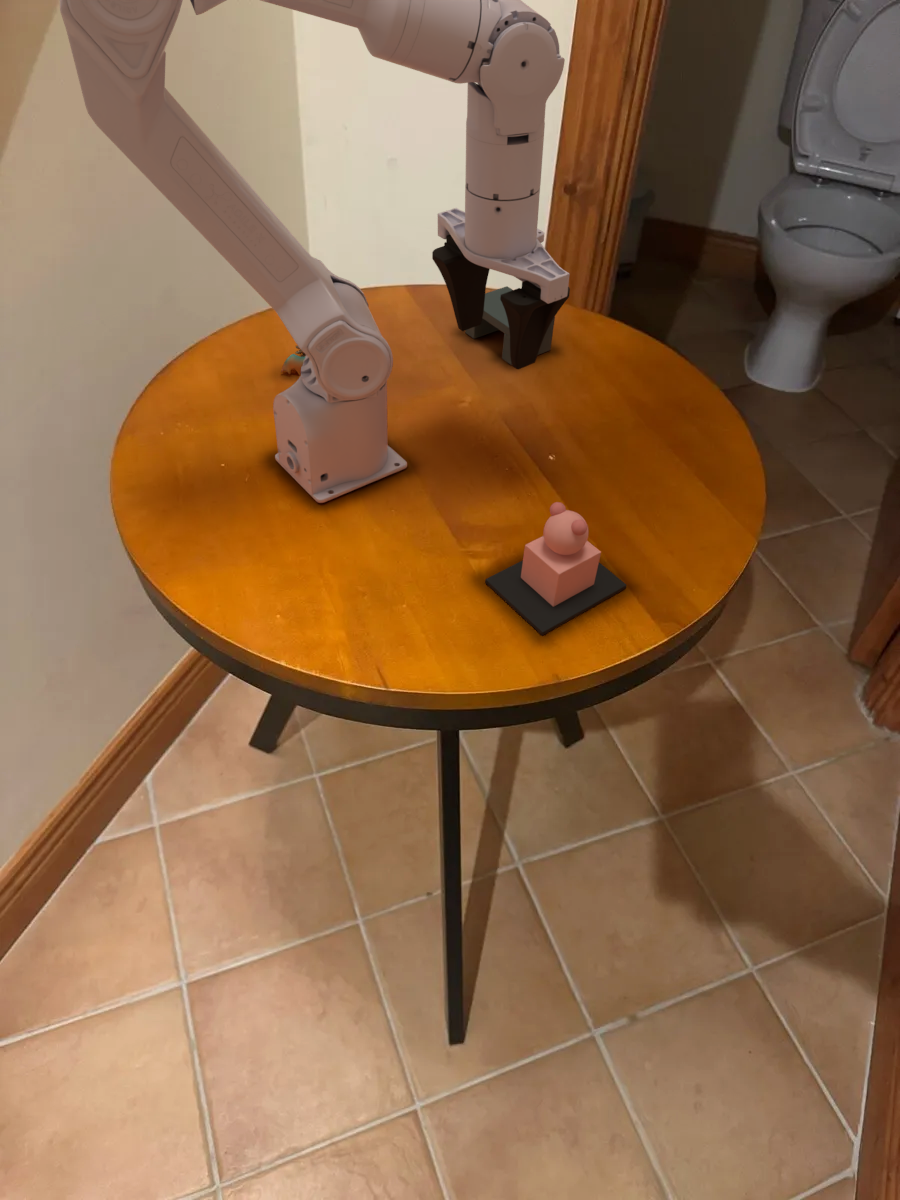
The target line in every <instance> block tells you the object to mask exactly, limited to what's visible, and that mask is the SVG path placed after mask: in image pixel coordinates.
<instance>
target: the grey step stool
mask: <svg viewBox="0 0 900 1200" xmlns="http://www.w3.org/2000/svg"><path fill="white" fill-rule="evenodd" d="M512 290H513V289H512V288H511V287H509V286H504V287H500V288H498V289H494V290H491V291H488V292H485V302H484V312H483V317H482V321H481V324H480V325H478V326H475V327H473V328H470V329H467V330H465V331H464V332H465V334H466V335H468V336H469V337H471V339H473V340H474V339H475V340H476V339H477V338H480V337H483V336H485V335H489V334H492V333H495V332H498V331H500V332H502V333H503V343H502V353H501V359H502V360H503V361H505V362H506V363H507V364H509V365H510V366H512V363H511V357H510V330H509V324H508V319H507V315H506V312H505V309H504V306H503V304H502V302H501V300H500V297H501V295H502V294H504V293H507V292H510V291H512ZM555 320H556V316H555V317H554V318H553V320H552V322H551V324H550V326H549V328H548V330H547V332H546V334H545V336H544V339H543V341H542V344H541V346H540V349H539V352H538V355H537V356H539V355H541V354H544V353H546V352H550V351H551V350H552V341H553V332H554V327H555Z"/></svg>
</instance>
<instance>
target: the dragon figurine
mask: <svg viewBox="0 0 900 1200" xmlns="http://www.w3.org/2000/svg"><path fill="white" fill-rule="evenodd" d="M295 348H296V349H297V350H296V351H295V353H292V354H290V355H289V356H288V357H287V358H286V359H285V361H284V363H283V365H282V367H281V370H280V373H282V372H286V373H288V375H291V371H292V370H294V371H296V372H297V374H298V375H299V376H301V367H302V366H303V362H304V359H305V357H306V354H305V353H304V352H303V351H302V350H301V349H300V348H299V347H298V345H297V344H296V345H295Z"/></svg>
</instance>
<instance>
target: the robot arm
mask: <svg viewBox="0 0 900 1200" xmlns="http://www.w3.org/2000/svg"><path fill="white" fill-rule="evenodd" d="M189 1H190V3H191V6H192V8H193V11H194V13H195V15H196V16H199V15H202V14H204V13H206V12H208V11H210V10H212V9H214V8H215V7H217V6H219V5H220V4H223V3H224V2H226V1H227V0H189ZM260 1H261V2H264V3H269V4H272V5H275V6H278V7H283V8H285V9H290V10H293V11H296V12H298V13H299V12H300V13H304V14H307V15H310V16H314V17H317V18H320V19H325V20H328V21H331V22H335V23H338V24H342V25H346V26H349V27H352V28H356V29H357V30H358V31H359V34H360V36H361V38H362V41H363V43H364V45H365V47H366V49H367V51H368V53H369V54H370V55H371V56H372V57H374V58H375V59H380V60H383V61H386V62H389V63H392V64H395V65H398V66H401V67H404V68H408V69H411V70H413V71H417V72H420V73H423V74H426V75H429V76H433V77H436V78H438V79H441V80H445V81H448V82H450V83H453V84H459V85H461V84H467V95H466V97H467V102H466V103H467V104H466V105H467V106H466V109H467V111H466V121H465V122H466V123H465V185H464V210H461V209H459V208H458V207H453V208H451V209H448V210H445V211H441V212H438V213H437V236H438V237H440V239H442V240H446V241H444V244H443V246H440V247H437V248H434V249H433V250H432V252H431V254H432V258H431V259H432V260H433V262H434V264H435V265H436V267H437V269H438V271H439V273H440V274H441V276H442V279H443V281H444V283H445V287H446V288H447V291H448V294H449V298H450V301H451V305H452V310H453V313H454V317H455V320H456V325H457V327H458V330H460V331H461V332H465V330H467V329H470V328H473V327H475V326H478V325H480V324H481V321H482V317H483V312H484V302H485V293H486V289H487V283H488V277H489V274H490V271H491V270H492V271H496V272H499V273H502V274H506V275H509V276H511V277H513V278H516V279H517V280H519V281H520V282H521V287H518V288H515V289H512V291H510V292H507V293H504V294H502V295H501V297H500V300H501V302H502V304H503V306H504V309H505V312H506V315H507V319H508V324H509V330H510V357H511V363H512V365H511V366H512V367H513V368H514V369H515V370H521V369H523V368H525V367H527V366H530V365H533V364H535V363H536V360H537V357H538V356H539V355H538V352H539V349H540V346H541V344H542V341H543V339H544V336H545V334H546V332H547V330H548V328H549V326H550V324H551V322H552V320H553V318H554V317H555V318H556V315H557V314H558V312H559V311H560V310H561V308H562V307H563V305H564V304H565V303H566V301H568V300H569V298H570V293H571V292H570V291H571V287H569V284H570V283H569V282H570V272H568V271H566V270H565V269H563V268H562V267H561V266H560V265H559V264H558V263H557V261H556V260H554V257H552V255H551V254H550V253H549V252H548V250H547V249H546V248H545V247H544V245H543V244H542V243H543V242H544V241H545V232H544V231H543V230H542V229H539V228H538V223H539V210H540V209H539V207H540V196H541V195H540V193H541V182H542V169H543V155H544V141H545V126H546V122H545V120H546V107H547V101H548V99H549V98H550V96H551V95H552V93H553V92H554V90H555V89H556V87H557V86H558V84H559V82H560V80H561V77H562V74H563V71H564V67H565V66H564V65H565V62H566V61H565V58H564V57H563V56H562V55H561V54H560V43H559V37H558V35H557V32H556V30H555V29H554V28H553V27H552V26H551V25H552V24H551V23H550V22H549V20H548V19H547V18H545V17H544V16H543V15H541V14H540V13H538V12H537V11H536V10H534V9H533V8H532V7H531V6H529V5H528V4H526V3H525V1H523V0H260ZM182 4H183V0H59V11H60V15H61V18H62V21H63V24H64V27H65V30H66V35H67V39H68V43H69V46H70V49H71V50H70V51H71V54H72V57H73V61H74V62H73V63H74V66H75V70H76V74H77V76H78V77H77V79H78V82H79V85H80V89H81V90H80V91H81V93H82V98H83V102H84V106H85V108H86V111H87V115H88V116H89V117H90V119H91V120H92V121H93V122H94V124H95V126H96V127H98V129H99V130H100V131H101V132H102V133H103V134H104V135H105V136H106V137H107V138H108V139H109V141H111V142H112V143H113V144H114V145H115V146H116V147H117V148H118V150H120V152H121V153H123V154H124V156H125V157H126V158H127V159H128V160H129V161H130V162H131V163H132V164H133V165H134V166H135V167H136V168H137V169H138V170H139V172H141V173H142V175H144V176H145V177H146V178H147V179H148V181H149V182H151V184H152V185H153V186H154V187H155V188H156V189H157V190H158V191H159V192H160V193H161V194H162V195H163V196H164V197H165V198H166V199H167V200H168V201H169V202H170V204H171V205H172V206H173V207H174V208H175V209H176V210H177V211H178V212H179V213H180V214H181V215H182V216H183V217H184V218H185V219H186V220H187V221H188V223H190V224H191V226H193V227H194V229H196V230H197V231H198V233H200V235H201V236H202V237H203V238H204V239H205V240H206V241H207V242H208V243H209V244H210V245H211V246H212V247H213V248H214V249H215V250H216V251H217V252H218V253H219V254H220V255H221V257H223V258H224V260H225V261H227V262H228V264H229V265H230V266H231V267H232V268H233V269H234V270H235V271H236V272H237V273H238V274H239V275H240V276H241V277H242V279H243V280H244V281H246V282H247V283H248V285H250V287H252V289H253V290H254V291H255V292H256V293H257V294H258V295H259V296H260V297H261V298H262V299H263V300H264V301H265V302H266V303H267V304H268V305H269V307H270V308H271V309H272V310H274V312H275V314H277V316H278V317H279V319H280V320H281V322H282V323H283V325H284V327H285V328H286V330H287V331H288V333H289V335H290V336H291V337H292V339H293V340H294V342H295V344H296V346H297V345H298V347H299V348H300V349H301V350H302V351H303V352H304V353H305V354H306V357H305V359H304V362H303V366H302V367H301V371H300V375H299V377H298V378H297V380H296V381H295V382H294V383H293V384H292V385H290V386H289V387H288V388H286V389H285V390H283V391H280V392H279V393H277V394H276V395H275V397H274V398H273V403H272V404H273V406H272V409H273V418H274V428H275V436H276V437H275V438H276V445H277V453H276V454H275V455H274V459H275V461H276V462H277V463H278V464H279V465H280V466H281V468H283V469H284V470H285V471H286V472H287V473H288V474H289V475H290V476H291V477H292V478H293V479H294V480H295V481H296V482H297V483H298V484H299V485H300V486H301V487H302V488H303V490H305V492H307V493H308V495H310V497H312V498H313V500H315V502H317V503H318V504H323V503H326V502H328V501H331V500H333V499H336V498H338V497H340V496H344V495H345V494H347V493H350V492H352V491H354V490H357V489H360V488H362V487H365V486H366V485H369V484H371V483H374V482H376V481H379V480H381V479H383V478H385V477H388V476H391V475H393V474H395V473H398V472H400V471H402V470H405V469H407V467H408V462H407V461H406V459H404V458H403V457H402V456H401V455H400V454H399V453H398V452H396V451H395V450H394V449H393V448H392V447H390V445H388V444H389V443H388V380H389V378H390V376H391V374H392V372H393V371H392V370H393V367H394V355H393V352H392V348H391V346H390V345H389V343H388V340H387V339H386V338H384V336H383V334H382V332H381V331H380V329H379V326H378V324H377V322H376V320H375V318H374V316H373V314H372V312H371V310H370V308H369V303H368V301H367V300H368V299H367V297H366V295H365V293H364V292H363V290H362V289H361V288H360V287H359V286H358V285H357V284H356V283H354V282H352V281H350V280H349V279H346V278H343V277H340V276H338V275H336V274H335V273H333V272H332V271H331V270H330V269H329V268H328V267H327V266H326V265H325V264H324V263H323V261H321V260H320V259H318V258H317V257H314V256H312V255H311V254H310V253H309V252H308V251H307V249H306V248H305V247H304V245H302V244H301V243H300V241H299V240H298V239H297V237H295V236H294V234H293V233H292V232H291V231H290V230H289V228H287V226H286V225H285V224H284V223H283V222H282V220H280V218H279V217H278V216H277V215H276V214H275V212H273V210H272V209H271V208H270V207H269V206H268V205H267V204H266V202H265V201H264V199H262V197H260V195H259V194H258V193H257V192H256V191H255V189H254V188H253V187H252V186H251V185H250V184H249V183H248V181H247V180H246V179H245V178H244V177H243V176H242V175H241V173H240V172H239V171H238V170H237V169H236V168H235V166H233V164H232V163H231V162H230V160H228V158H227V157H226V156H225V155H224V153H222V152H221V150H220V149H219V148H218V147H217V146H216V144H214V142H213V141H212V140H211V138H210V137H209V136H207V134H206V133H205V131H203V129H202V128H201V127H200V126H199V125H198V124H197V122H196V121H195V120H194V119H193V118H192V117H191V116H190V114H189V113H187V111H186V110H185V109H184V108H183V106H181V104H180V102H178V101H177V100H176V98H175V97H174V96H173V95H172V94H171V92H170V91H169V90H168V89H167V88H166V61H167V60H166V57H167V52H166V48H167V45H168V43H169V40H170V38H171V36H172V33H173V31H174V28H175V25H176V22H177V20H178V17H179V16H180V15H179V14H180V11H181V7H182ZM300 349H299V350H300Z"/></svg>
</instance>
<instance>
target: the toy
mask: <svg viewBox="0 0 900 1200" xmlns="http://www.w3.org/2000/svg"><path fill="white" fill-rule="evenodd" d="M549 513H550V516H549V517H548V519H547V520H546V522H545V523H544V526H543V534H542V536H540V537H538V538H536V539H534V540H531V541H530V542H528V543H525V545H524V549H523V557H522V558H523V559H522V560H523V564H522V572H521V578H522V579H523V580H524V581H525V582H526V583H527V584H528V585H529V586H531V587H532V588H533V589H534V590H535V591H536V592H537V593H538V594H540V595H541V596H542V597H543V598H544V599H545V600H546V601H547V602H548V603H550V604H551V605H552V606H553V607H554V606H556V605H558V604H559V603H561V602H563V601H565V600H567V599H568V598H570V597H572V596H574V595H576V594H578V593H579V592H581V591H583V590H585V589H587V588H588V587H590V586H592V585H594V582H595V577H596V573H597V568H598V564H599V563H600V559H601V554H602V551H601V550H599V549H598V548H597V547H595V545H593V544H592V543H591V542H590V541H588V539H589V525H588V523H587V521H586V520H585V518H584V517H583V516H582V515H581V514H579V513H578V512H576V511H573V510H569V509H566V506H565V504H564V503H563V502H559V501H556V502H553V503H552V504H551V505H550V507H549Z"/></svg>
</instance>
